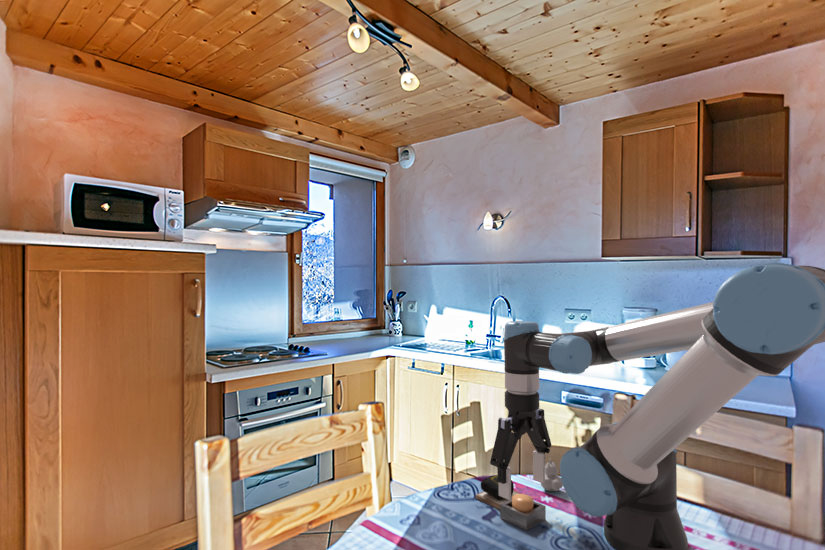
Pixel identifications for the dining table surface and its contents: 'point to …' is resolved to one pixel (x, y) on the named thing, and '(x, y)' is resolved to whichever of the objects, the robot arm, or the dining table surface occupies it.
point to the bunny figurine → (551, 478)
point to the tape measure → (493, 486)
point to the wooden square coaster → (492, 499)
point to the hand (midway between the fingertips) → (522, 488)
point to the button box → (523, 515)
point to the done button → (522, 503)
